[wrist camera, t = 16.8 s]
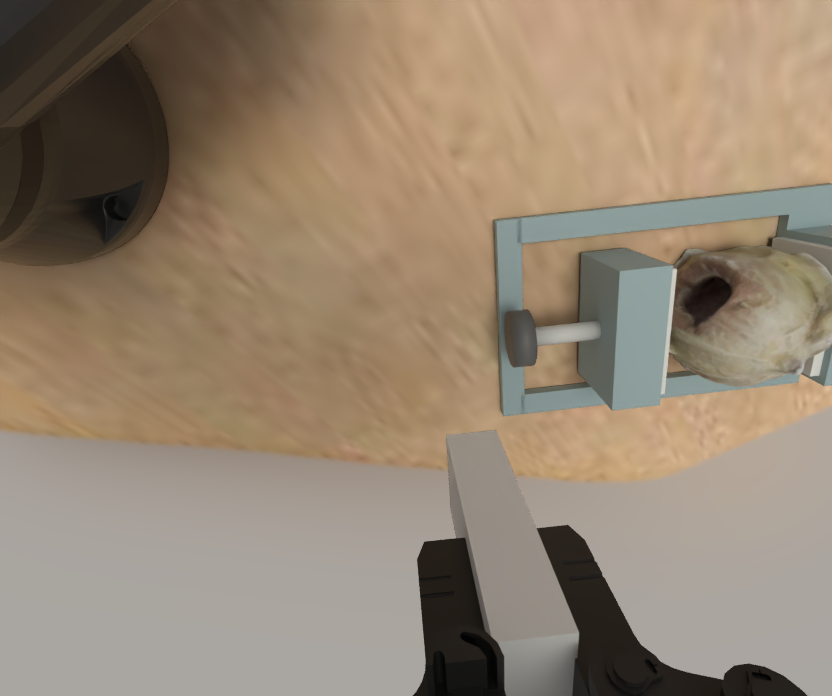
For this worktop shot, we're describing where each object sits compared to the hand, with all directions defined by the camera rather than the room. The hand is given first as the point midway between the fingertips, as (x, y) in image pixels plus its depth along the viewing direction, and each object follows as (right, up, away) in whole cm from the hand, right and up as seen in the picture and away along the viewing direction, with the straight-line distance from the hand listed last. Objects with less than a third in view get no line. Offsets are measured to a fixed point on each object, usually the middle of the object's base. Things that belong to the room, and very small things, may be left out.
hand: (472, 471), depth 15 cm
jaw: (+9, +6, +19) cm, 22 cm away
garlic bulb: (+18, +7, +20) cm, 28 cm away
